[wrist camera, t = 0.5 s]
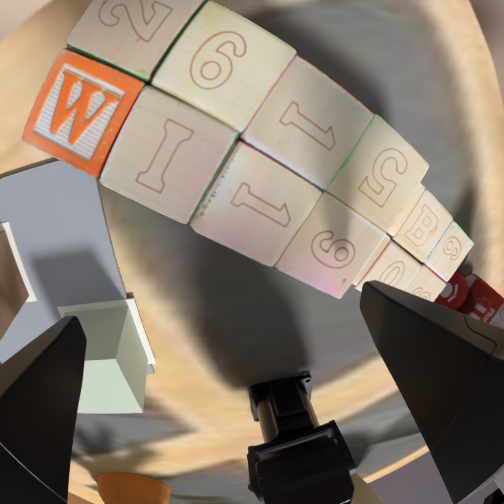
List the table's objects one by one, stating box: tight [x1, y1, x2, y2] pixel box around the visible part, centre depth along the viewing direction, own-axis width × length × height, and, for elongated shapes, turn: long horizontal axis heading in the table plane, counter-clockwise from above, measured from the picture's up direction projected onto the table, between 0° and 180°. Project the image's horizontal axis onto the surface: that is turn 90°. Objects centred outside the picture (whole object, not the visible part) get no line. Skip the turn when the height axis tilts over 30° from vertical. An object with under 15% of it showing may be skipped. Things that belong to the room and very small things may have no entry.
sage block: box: [63, 306, 148, 413], centre depth 22 cm, size 6×6×6 cm
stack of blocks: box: [22, 0, 473, 302], centre depth 15 cm, size 21×6×12 cm, turn 57°
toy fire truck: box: [434, 271, 504, 329], centre depth 26 cm, size 7×12×10 cm, turn 151°
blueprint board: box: [0, 160, 156, 374], centre depth 21 cm, size 20×19×1 cm
